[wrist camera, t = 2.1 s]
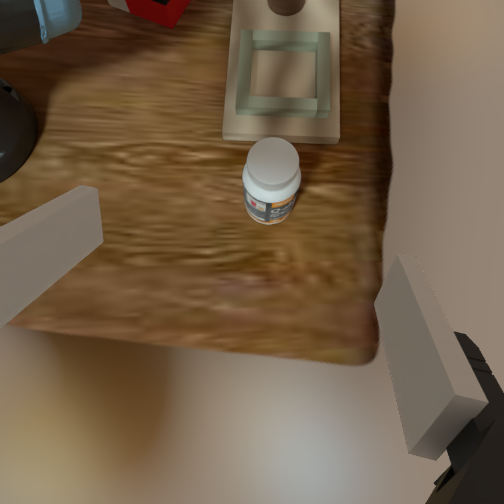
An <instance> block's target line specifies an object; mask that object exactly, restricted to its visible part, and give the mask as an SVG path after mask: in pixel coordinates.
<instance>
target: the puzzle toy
mask: <svg viewBox="0 0 504 504" xmlns="http://www.w3.org/2000/svg"><path fill="white" fill-rule="evenodd" d="M107 1H108V3H109V5H110V6H113V7H116V8H118V9H121V10H124V11H126V12H129V13H131V14H134V15H137V16H139V17H142V18H145V19H147V20H150V21H152V22H155V23H158V24H160V25H163V26H166V27H168V28H171V29H173V28H174V26H175V24H176V23H177V21H178V20H179V18H180V17H181V15H182V13H183V12H184V10H185V9H186V7H187V5H188V4H189V2H190V1H191V0H107Z"/></svg>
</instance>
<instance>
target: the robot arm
mask: <svg viewBox="0 0 504 504" xmlns="http://www.w3.org/2000/svg"><path fill="white" fill-rule="evenodd" d="M81 19H82V8H81V4H80V0H0V55H1V54H5V53H8V52H12V51H15V50H19V49H22V48H25V47H29V46H32V45H36V44H39V43H43V44H46V43H47V42H49V39H51V38H54V37H57V36H59V35H62V34H65V33H68V32H70V31H73V30H74V29H76V28H77V27H78V26H79V24H80V21H81ZM36 132H37V123H36V117H35V114H34V111H33V109H32V107H31V105H30V104H29V102H28V101H27V100H26V99H25V98H24V97H23V96H22V95H21V94H20V93H19V92H18V91H17V90H16V89H15V88H14V87H13V86H12V85H11V84H9V83H8V82H7V81H5V80H4V79H2V78H0V182H1V181H3V180H5V179H6V178H8V177H9V176H10V175H12V174H13V173H14V172H15V171H16V170H17V169H18V168H19V167H20V166H21V165H22V164H23V162H24V161H25V160H26V158H27V157H28V155H29V153H30V152H31V150H32V147H33V145H34V142H35V138H36ZM101 243H103V233H102V224H101V215H100V206H99V197H98V188H94V187H89V186H84V185H80V186H78V187H76V188H74V189H72V190H70V191H68V192H67V193H65V194H63V195H61V196H59V197H57V198H55V199H53V200H51V201H49V202H47V203H45V204H44V205H42V206H40V207H38V208H36V209H34V210H32V211H30V212H28V213H26V214H24V215H23V216H21V217H19V218H17V219H15V220H13V221H11V222H9V223H7V224H5V225H3V226H2V227H0V329H1V328H2V327H3V326H4V325H5V324H7V323H8V322H9V321H10V320H11V319H12V318H14V317H15V316H16V315H17V314H18V313H20V312H21V311H22V310H23V309H24V308H25V307H27V306H28V305H29V304H30V303H31V302H33V301H34V300H35V299H36V298H37V297H39V296H40V295H41V294H42V293H43V292H44V291H46V290H47V289H48V288H49V287H50V286H52V285H53V284H54V283H55V282H56V281H58V280H59V279H60V278H61V277H62V276H63V275H65V274H66V273H67V272H68V271H69V270H71V269H72V268H73V267H74V266H75V265H76V264H78V263H79V262H80V261H81V260H82V259H84V258H85V257H86V256H87V255H88V254H90V253H91V252H92V251H93V250H94V249H95V248H97V247H98V246H99V245H100V244H101ZM374 305H375V310H376V314H377V318H378V323H379V327H380V331H381V336H382V340H383V344H384V348H385V353H386V357H387V362H388V366H389V370H390V375H391V379H392V383H393V388H394V392H395V396H396V401H397V405H398V410H399V414H400V418H401V423H402V427H403V431H404V435H405V440H406V444H407V448H408V453H409V454H412V455H416V456H420V457H424V458H428V459H432V460H435V461H436V460H437V459H438V458H439V457H440V456H441V455H442V454H443V453H444V451H445V450H446V449H447V452H448V455H449V459H450V461H451V466H450V467H449V468H448V469H447V470H446V471H445V472H444V473H443V474H442V475H441V476H440V477H439V478H438V479H437V480H436V481H435V482H434V484H435V485H436V487H435V489H434V490H433V492H432V494H431V495H430V497H429V499H428V500H427V502H426V503H425V504H504V393H503V391H502V389H501V388H500V386H499V384H498V382H497V380H496V378H495V377H494V375H492V371H491V370H490V368H489V366H488V364H487V363H485V362H486V361H485V359H484V357H483V355H482V353H481V351H480V350H479V348H478V347H477V346H476V345H475V344H474V343H473V341H472V340H471V339H470V338H469V337H468V336H467V335H466V334H463V333H458V332H454V331H453V330H452V328H451V326H450V324H449V322H448V320H447V318H446V316H445V314H444V312H443V310H442V308H441V306H440V304H439V302H438V300H437V298H436V296H435V294H434V292H433V290H432V288H431V286H430V284H429V282H428V280H427V278H426V276H425V274H424V272H423V270H422V268H421V266H420V264H419V262H418V260H417V258H416V257H414V256H409V255H405V254H400V253H397V255H396V257H395V259H394V261H393V264H392V266H391V268H390V270H389V272H388V274H387V277H386V279H385V281H384V283H383V285H382V287H381V290H380V292H379V294H378V296H377V298H376V300H375V303H374Z"/></svg>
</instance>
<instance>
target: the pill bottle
mask: <svg viewBox="0 0 504 504" xmlns="http://www.w3.org/2000/svg"><path fill="white" fill-rule="evenodd" d="M242 179H243V190H244V200H245V206H246V209H247V211H248V213H249V215H250V216H251V217H252V218H253V219H254V220H256V221H258V222H260V223H264V224H275V223H279V222H281V221H283V220H284V219H285V218H287V217H288V215H289V214H290V212H291V211H292V208H293V205H294V202H295V199H296V196H297V192H298V189H299V187H300V183H301V171H300V168H299V156H298V153H297V151H296V149H295V148H294V146H293V145H292V144H290V143H289V142H288V141H286V140H284V139H281V138H276V137H269V138H265V139H262V140H260V141H258V142H257V143H255V144H254V145H253V146H252V148H251V149H250V151H249V153H248V157H247V163H246V164H245V167H244V169H243V175H242Z"/></svg>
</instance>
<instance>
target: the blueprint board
mask: <svg viewBox="0 0 504 504" xmlns="http://www.w3.org/2000/svg"><path fill="white" fill-rule="evenodd" d="M222 134H223V140H241V141H260V140H262V139H265V138H269V137H276V138H281V139H284V140H286V141H288V142H289V143H313V144H337V143H338V141H339V138H340V70H339V0H233V12H232V24H231V36H230V47H229V59H228V71H227V82H226V94H225V106H224V118H223V129H222Z"/></svg>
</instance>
